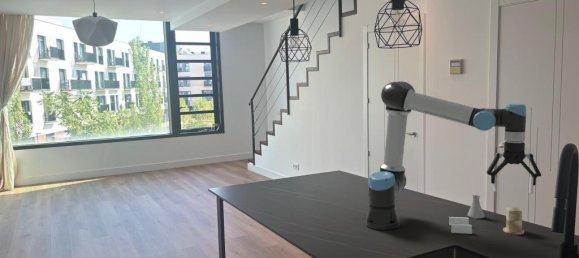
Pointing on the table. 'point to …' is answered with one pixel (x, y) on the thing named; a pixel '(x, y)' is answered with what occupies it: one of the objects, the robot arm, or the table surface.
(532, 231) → the table surface
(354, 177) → the table surface
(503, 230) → the coaster
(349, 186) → the table surface
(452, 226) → the channel
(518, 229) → the block
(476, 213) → the flask
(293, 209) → the table surface
